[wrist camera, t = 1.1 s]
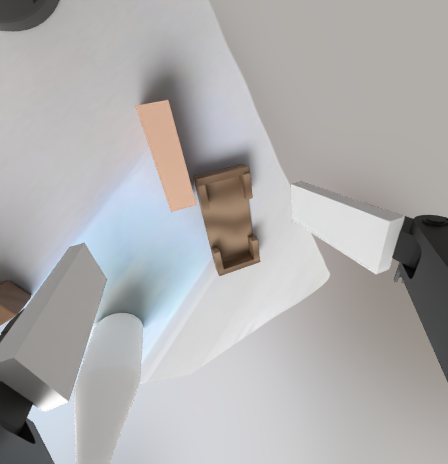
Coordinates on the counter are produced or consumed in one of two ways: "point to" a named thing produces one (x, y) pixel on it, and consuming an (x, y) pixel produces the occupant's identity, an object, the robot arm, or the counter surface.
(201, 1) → the counter surface
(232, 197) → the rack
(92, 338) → the wine bottle
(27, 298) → the wooden block
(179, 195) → the peach rectangular block
